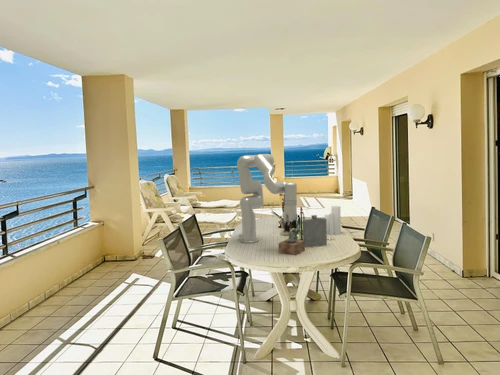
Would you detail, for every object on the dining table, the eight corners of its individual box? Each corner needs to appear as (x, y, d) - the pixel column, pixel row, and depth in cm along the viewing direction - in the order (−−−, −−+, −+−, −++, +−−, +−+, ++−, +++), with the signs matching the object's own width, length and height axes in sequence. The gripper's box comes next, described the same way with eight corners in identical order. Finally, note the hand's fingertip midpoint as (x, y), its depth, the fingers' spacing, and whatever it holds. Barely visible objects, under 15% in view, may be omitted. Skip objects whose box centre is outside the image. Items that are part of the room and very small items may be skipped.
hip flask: (304, 247, 254) (303, 216, 252) (302, 245, 258) (301, 215, 256) (327, 245, 257) (327, 215, 255) (325, 243, 261) (324, 214, 259)
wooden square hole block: (278, 252, 243) (278, 243, 242) (287, 248, 253) (287, 239, 252) (296, 255, 236) (296, 245, 236) (304, 250, 246) (304, 240, 246)
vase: (339, 232, 293) (339, 206, 291) (341, 234, 286) (341, 207, 284) (324, 233, 293) (323, 206, 291) (326, 235, 286) (325, 208, 284)
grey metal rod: (288, 251, 244) (287, 232, 243) (290, 250, 247) (290, 231, 246) (293, 252, 242) (292, 233, 241) (295, 251, 245) (294, 232, 244)
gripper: (291, 200, 251) (291, 226, 253) (278, 204, 236) (278, 232, 238) (302, 201, 247) (302, 227, 249) (289, 205, 232) (290, 233, 234)
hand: (290, 229), depth 244 cm, fingers open, 9 cm apart
